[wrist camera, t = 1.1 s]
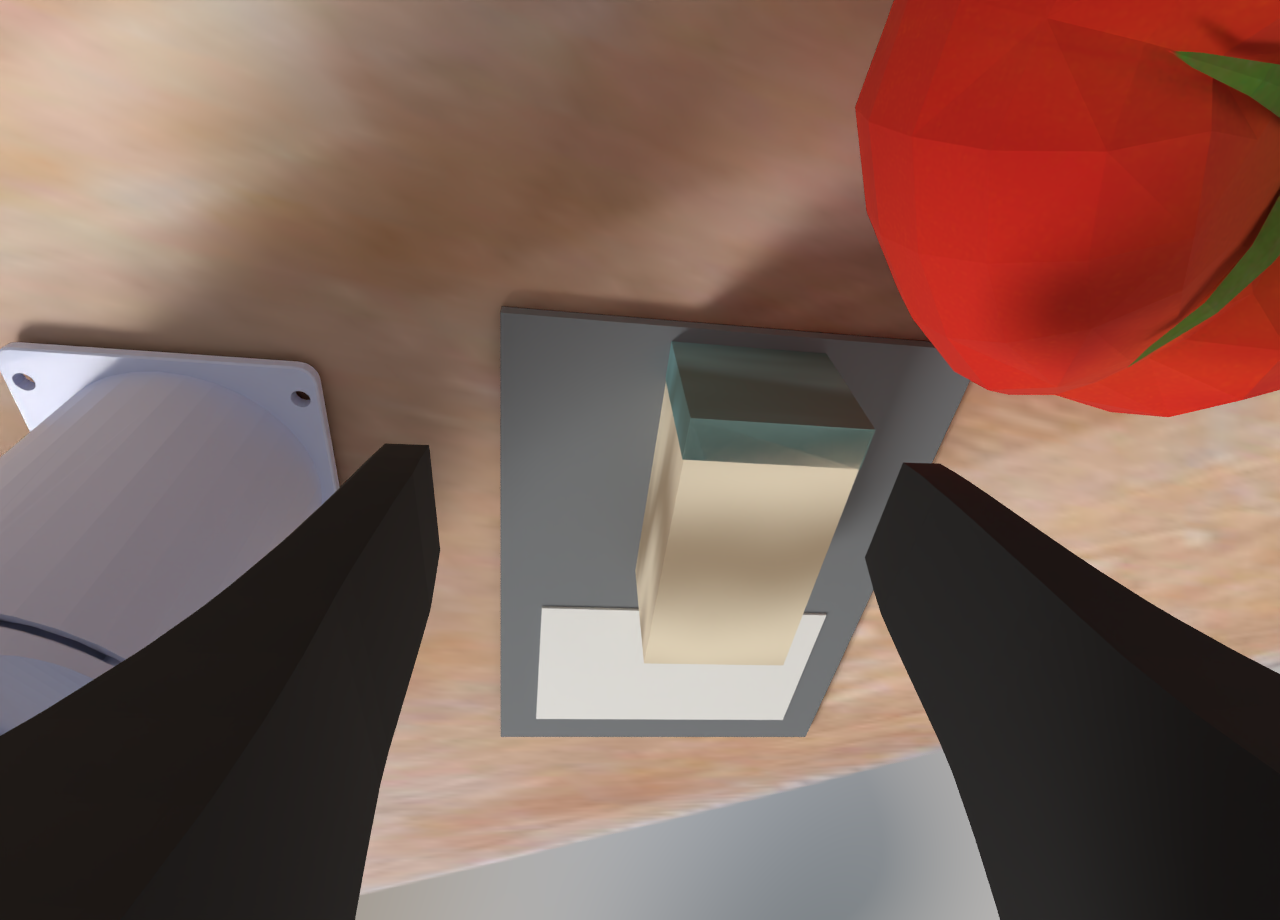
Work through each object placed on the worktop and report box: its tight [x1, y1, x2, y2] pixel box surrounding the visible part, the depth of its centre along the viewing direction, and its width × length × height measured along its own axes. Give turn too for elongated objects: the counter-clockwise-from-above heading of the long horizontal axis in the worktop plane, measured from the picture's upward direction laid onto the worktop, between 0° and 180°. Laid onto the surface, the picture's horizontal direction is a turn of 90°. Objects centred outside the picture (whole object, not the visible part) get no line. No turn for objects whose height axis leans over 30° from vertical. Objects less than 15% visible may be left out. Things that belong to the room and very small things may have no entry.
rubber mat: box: [500, 307, 970, 737], centre depth 25 cm, size 20×14×1 cm
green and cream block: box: [635, 341, 875, 665], centre depth 20 cm, size 9×5×4 cm, turn 173°
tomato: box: [855, 0, 1280, 417], centre depth 13 cm, size 13×12×8 cm
